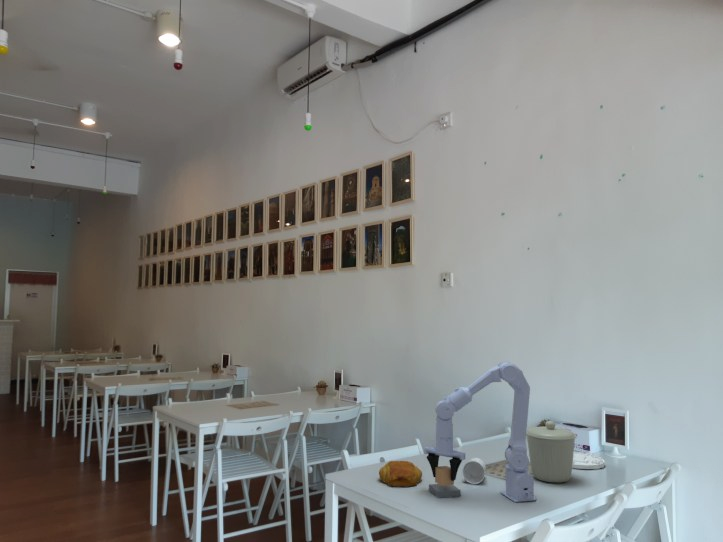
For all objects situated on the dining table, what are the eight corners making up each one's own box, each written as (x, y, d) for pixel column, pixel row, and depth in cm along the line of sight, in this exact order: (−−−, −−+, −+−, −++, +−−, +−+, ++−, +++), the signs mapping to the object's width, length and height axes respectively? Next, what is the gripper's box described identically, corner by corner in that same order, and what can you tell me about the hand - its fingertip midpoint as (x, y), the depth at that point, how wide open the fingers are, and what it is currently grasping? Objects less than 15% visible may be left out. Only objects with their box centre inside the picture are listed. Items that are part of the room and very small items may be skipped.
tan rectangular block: (453, 484, 181) (453, 469, 182) (442, 485, 179) (442, 470, 180) (446, 480, 185) (446, 465, 186) (435, 482, 183) (435, 466, 184)
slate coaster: (460, 496, 179) (460, 490, 179) (437, 498, 177) (438, 491, 177) (450, 488, 187) (450, 482, 187) (428, 490, 185) (428, 484, 185)
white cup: (491, 473, 200) (488, 479, 191) (471, 481, 202) (468, 487, 193) (481, 452, 203) (478, 457, 193) (462, 460, 204) (458, 465, 195)
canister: (582, 477, 202) (581, 420, 204) (570, 489, 187) (569, 427, 189) (534, 469, 212) (533, 414, 214) (519, 480, 198) (518, 421, 199)
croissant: (381, 481, 202) (379, 459, 203) (423, 477, 201) (420, 454, 202) (378, 492, 188) (375, 468, 189) (422, 488, 186) (419, 464, 188)
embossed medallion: (542, 462, 224) (542, 455, 225) (570, 455, 236) (569, 448, 236) (587, 474, 208) (587, 466, 209) (614, 465, 220) (614, 458, 220)
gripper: (469, 438, 183) (469, 479, 181) (430, 432, 191) (430, 471, 190) (460, 441, 177) (460, 484, 176) (421, 435, 185) (421, 476, 184)
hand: (444, 478), depth 182 cm, fingers closed on tan rectangular block, 6 cm apart
